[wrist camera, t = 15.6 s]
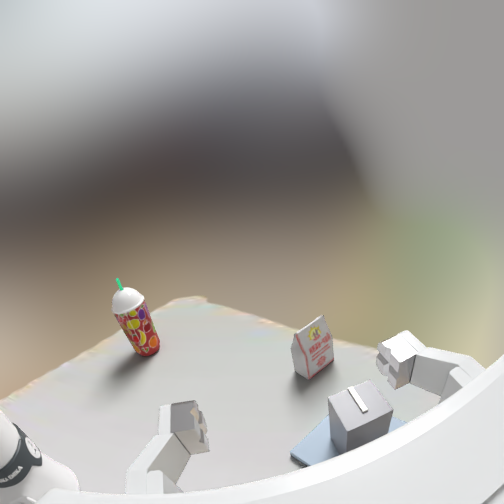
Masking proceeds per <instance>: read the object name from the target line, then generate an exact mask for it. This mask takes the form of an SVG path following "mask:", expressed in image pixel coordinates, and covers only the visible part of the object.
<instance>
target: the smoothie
mask: <svg viewBox="0 0 504 504" xmlns="http://www.w3.org/2000/svg"><path fill="white" fill-rule="evenodd" d="M116 281H117V283H118V286H119V288H120V290H118V291H117V292H116V293H115V295H114V296H113V300H112V312H113V313H114V315H115V317H116V318H117V320H118V322H119V324H120V326H121V327H122V329H123V331H124V333H125V334H126V336H127V338H128V339H129V341H130V343H131V344H132V346H133V348H134V349H135V351H136V352H137V353H139V354H140V355H142V356H149V355H152V354H154V353H155V352H156V351H158V349H159V343H160V341H159V338H158V335H157V333H156V330H155V327H154V325H153V322H152V319H151V317H150V314H149V312H148V308H147V306H146V303H145V300H144V296H143V295H141V294H140V293H138V291H136V290H135V289H132V288H122V286H121V284H120V281H119V279H118V278H117V279H116Z"/></svg>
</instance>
